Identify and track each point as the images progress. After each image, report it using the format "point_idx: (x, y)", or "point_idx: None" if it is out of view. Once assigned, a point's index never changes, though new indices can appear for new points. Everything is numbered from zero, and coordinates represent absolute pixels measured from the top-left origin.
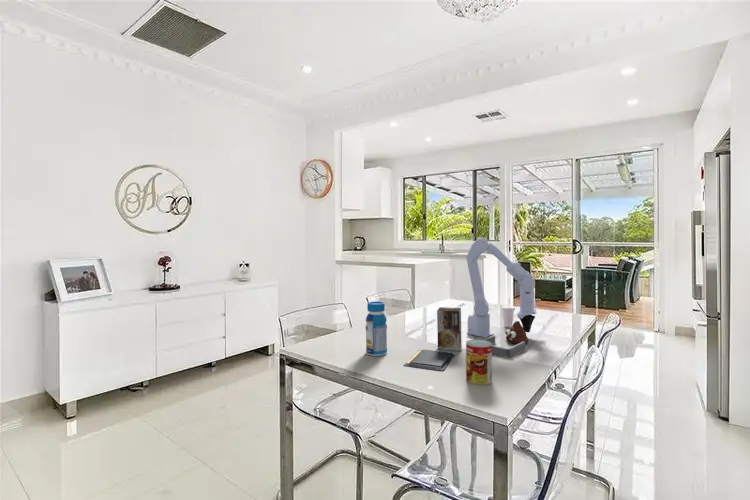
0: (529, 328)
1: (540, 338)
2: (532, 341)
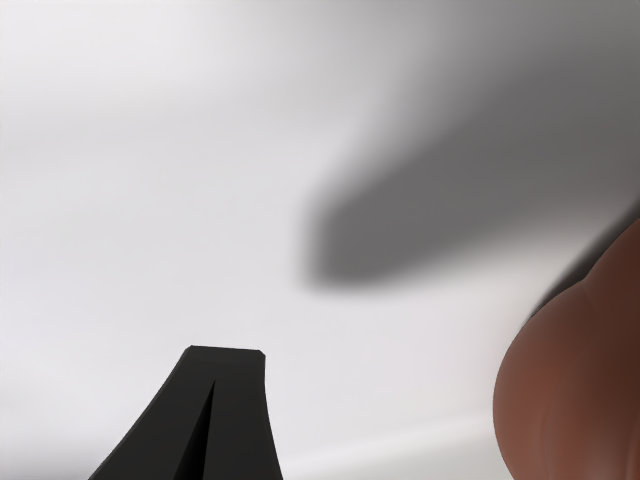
0: (244, 416)
1: (120, 58)
2: (508, 125)
